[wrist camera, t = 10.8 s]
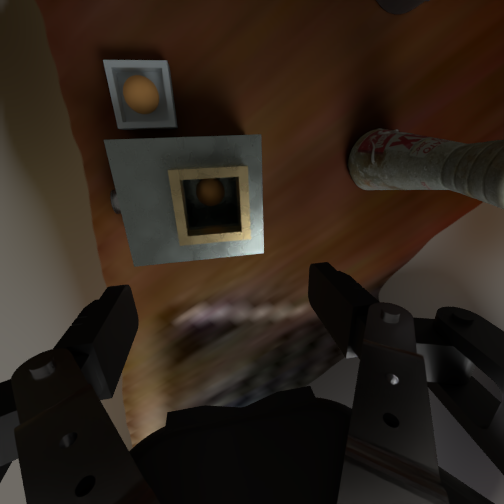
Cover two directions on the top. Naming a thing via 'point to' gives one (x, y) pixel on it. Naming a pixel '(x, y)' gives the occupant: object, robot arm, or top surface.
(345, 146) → the top surface
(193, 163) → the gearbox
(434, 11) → the top surface
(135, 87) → the bead
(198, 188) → the bead
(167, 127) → the bead dish
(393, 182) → the bottle
